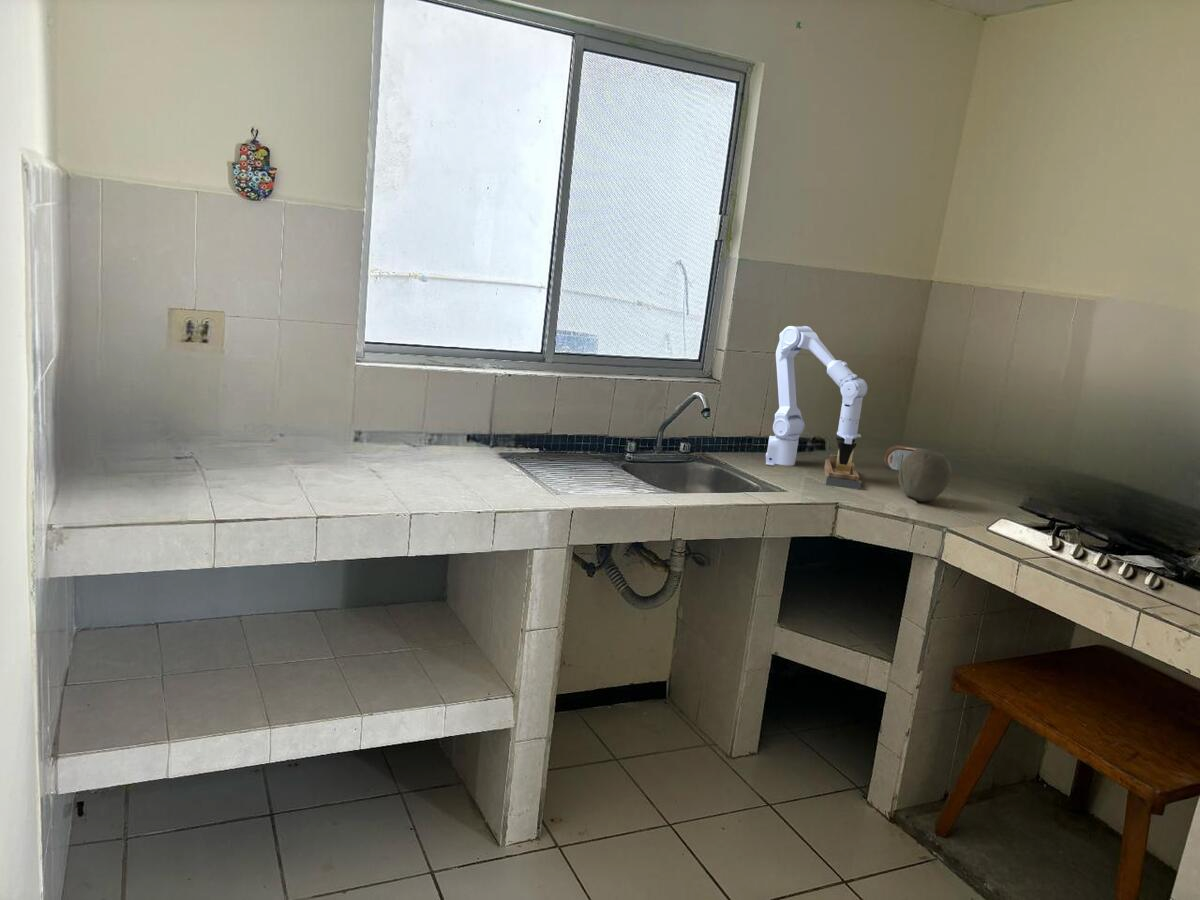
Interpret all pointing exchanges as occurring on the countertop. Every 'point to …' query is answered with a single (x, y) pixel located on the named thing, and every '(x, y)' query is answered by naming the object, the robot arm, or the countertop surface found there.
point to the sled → (832, 472)
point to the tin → (897, 456)
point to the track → (843, 482)
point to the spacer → (844, 467)
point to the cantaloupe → (924, 474)
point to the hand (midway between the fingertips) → (842, 462)
